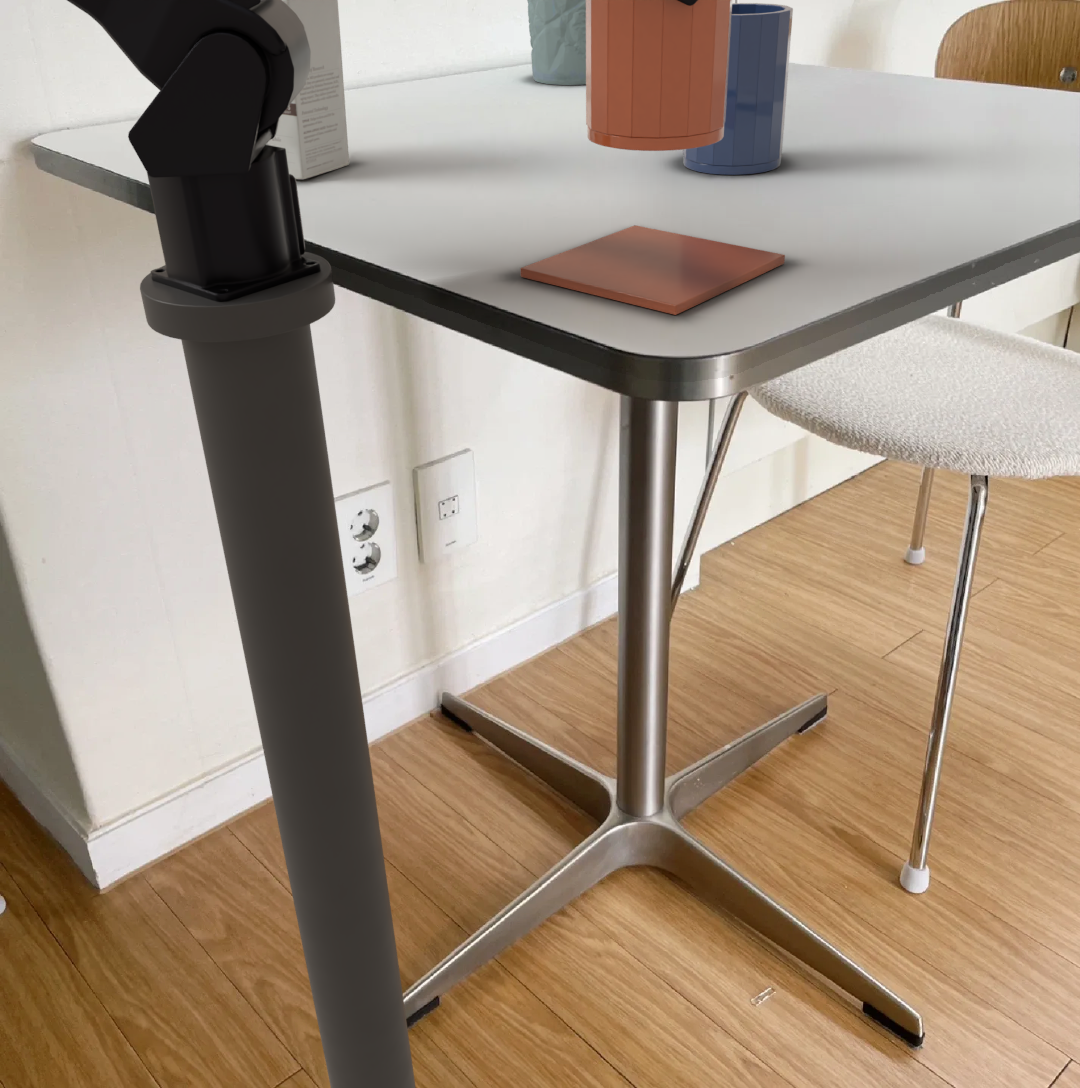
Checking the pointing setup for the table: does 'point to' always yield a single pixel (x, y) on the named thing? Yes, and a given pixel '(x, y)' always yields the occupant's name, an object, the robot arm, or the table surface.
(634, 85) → the terracotta crock
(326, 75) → the cosmetic box
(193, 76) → the robot arm
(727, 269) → the plate
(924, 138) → the table surface
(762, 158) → the blue crock
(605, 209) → the table surface
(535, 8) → the grey-green textured cylinder
